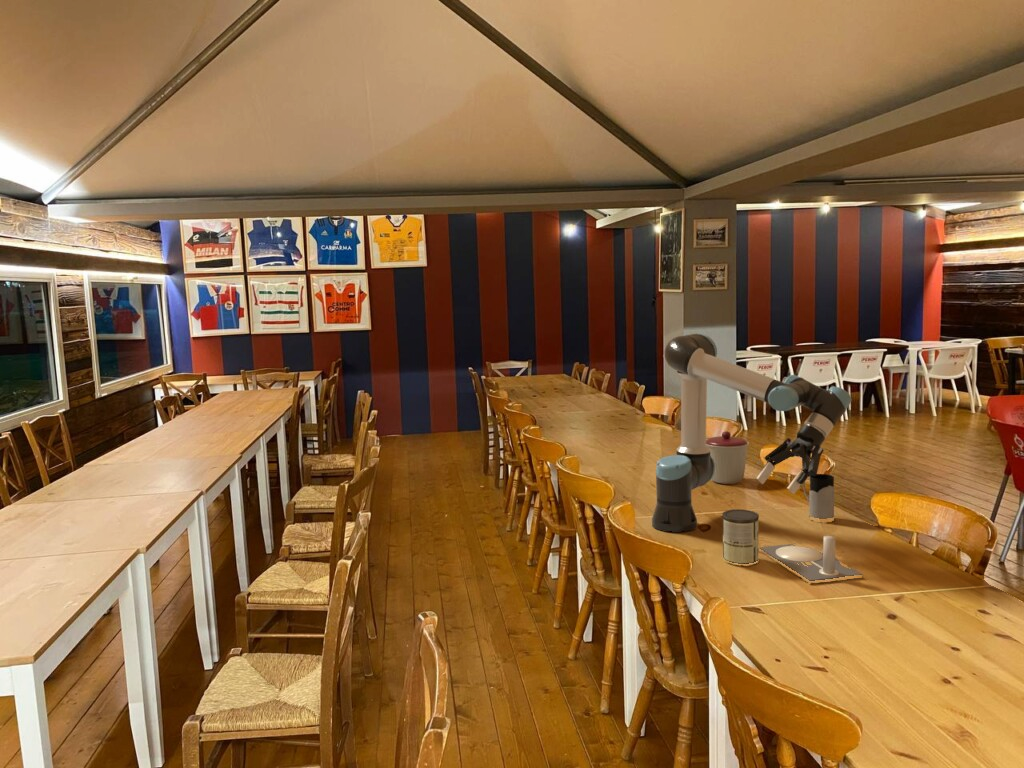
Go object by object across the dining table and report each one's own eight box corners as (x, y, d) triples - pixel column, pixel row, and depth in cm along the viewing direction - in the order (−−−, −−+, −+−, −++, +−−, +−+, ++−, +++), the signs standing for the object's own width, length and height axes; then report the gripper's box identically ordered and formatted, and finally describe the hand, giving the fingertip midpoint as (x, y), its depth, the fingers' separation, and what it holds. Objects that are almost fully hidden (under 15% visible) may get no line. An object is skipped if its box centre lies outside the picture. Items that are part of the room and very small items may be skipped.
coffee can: (717, 555, 224) (717, 510, 222) (751, 553, 224) (751, 508, 222) (729, 567, 214) (728, 520, 212) (764, 565, 214) (764, 518, 212)
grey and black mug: (819, 524, 249) (819, 480, 247) (792, 512, 262) (792, 471, 260) (841, 521, 251) (841, 478, 249) (813, 510, 264) (813, 469, 263)
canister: (704, 486, 302) (704, 435, 299) (703, 475, 319) (703, 427, 317) (750, 487, 297) (750, 435, 295) (747, 476, 315) (747, 427, 312)
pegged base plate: (809, 584, 199) (809, 544, 198) (759, 551, 226) (759, 515, 224) (863, 578, 202) (863, 538, 201) (807, 546, 228) (807, 510, 227)
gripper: (853, 445, 215) (812, 503, 211) (792, 432, 238) (754, 484, 234) (838, 429, 212) (797, 487, 209) (779, 418, 235) (740, 470, 232)
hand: (774, 486), depth 222 cm, fingers open, 13 cm apart
